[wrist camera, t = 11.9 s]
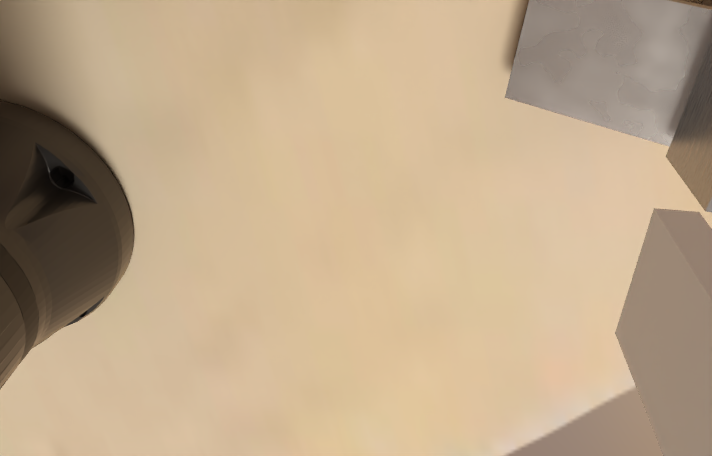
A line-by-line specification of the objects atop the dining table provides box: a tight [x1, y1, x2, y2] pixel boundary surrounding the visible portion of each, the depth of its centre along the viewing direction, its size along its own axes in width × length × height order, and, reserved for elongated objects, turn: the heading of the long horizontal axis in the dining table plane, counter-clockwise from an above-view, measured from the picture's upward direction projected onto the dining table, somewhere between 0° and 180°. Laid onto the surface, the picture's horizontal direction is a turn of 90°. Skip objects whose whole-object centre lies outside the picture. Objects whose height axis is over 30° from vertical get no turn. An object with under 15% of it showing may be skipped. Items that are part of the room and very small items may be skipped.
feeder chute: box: [505, 0, 712, 212], centre depth 29 cm, size 12×6×12 cm, turn 83°
